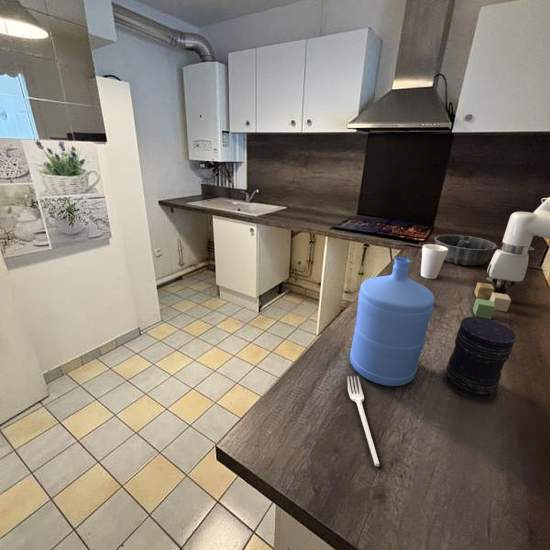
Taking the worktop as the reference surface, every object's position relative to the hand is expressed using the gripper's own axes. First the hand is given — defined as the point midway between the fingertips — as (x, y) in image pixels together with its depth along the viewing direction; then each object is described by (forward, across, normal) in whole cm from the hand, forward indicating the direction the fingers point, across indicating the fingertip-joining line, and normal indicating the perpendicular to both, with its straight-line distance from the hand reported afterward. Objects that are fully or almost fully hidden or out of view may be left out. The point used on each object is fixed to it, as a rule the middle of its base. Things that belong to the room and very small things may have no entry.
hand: (497, 296), depth 107 cm
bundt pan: (+1, +7, -43) cm, 44 cm away
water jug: (+1, +36, +57) cm, 67 cm away
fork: (+1, +37, +75) cm, 84 cm away
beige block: (+1, +1, +8) cm, 8 cm away
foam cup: (+1, +22, -13) cm, 26 cm away
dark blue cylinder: (+1, +16, +55) cm, 57 cm away
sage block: (+1, +8, +16) cm, 18 cm away
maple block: (+1, +5, 0) cm, 5 cm away
